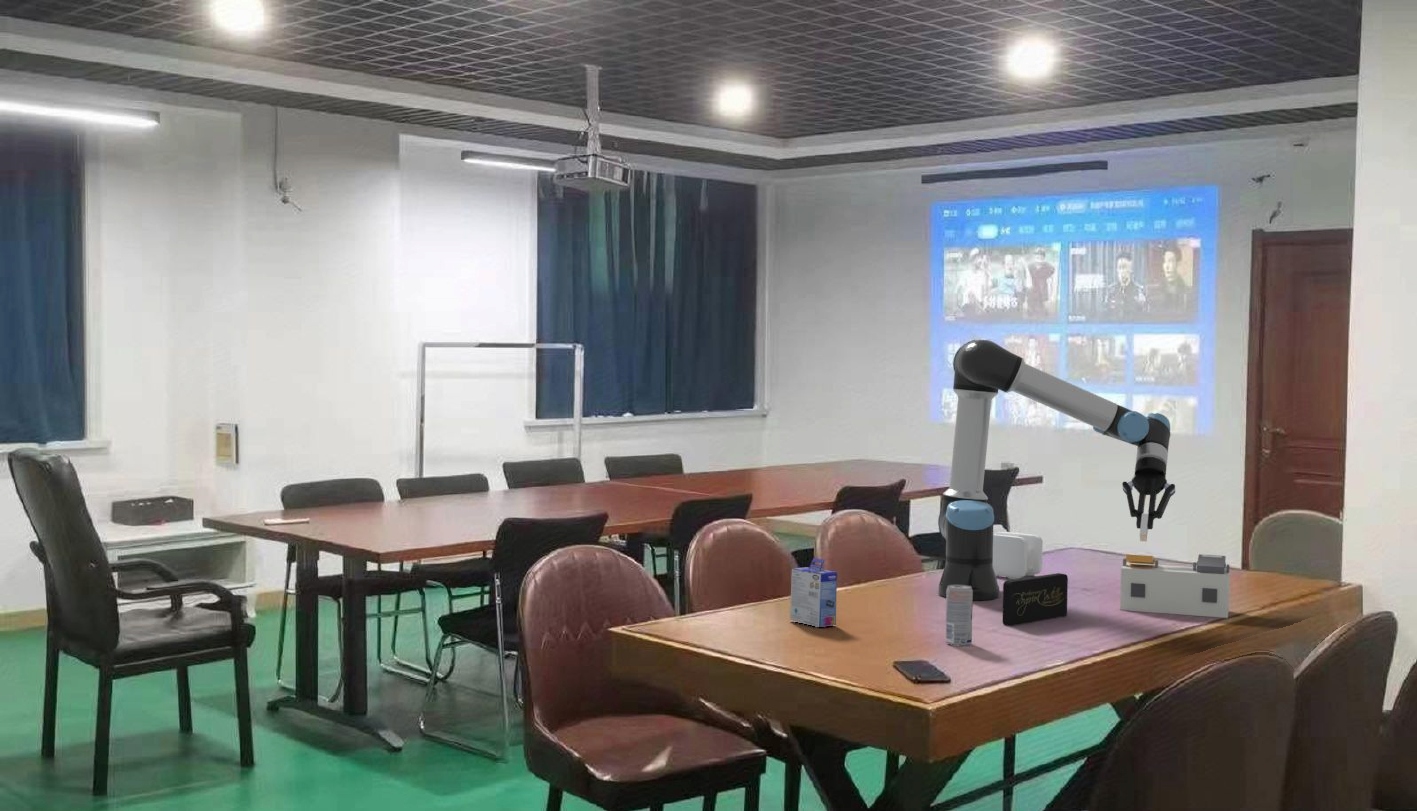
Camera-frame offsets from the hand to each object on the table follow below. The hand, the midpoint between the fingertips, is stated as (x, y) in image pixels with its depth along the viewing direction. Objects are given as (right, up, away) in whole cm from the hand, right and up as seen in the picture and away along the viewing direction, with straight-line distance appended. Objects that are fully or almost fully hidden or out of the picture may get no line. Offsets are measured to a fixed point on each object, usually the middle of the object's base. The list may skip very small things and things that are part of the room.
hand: (1143, 537), depth 331 cm
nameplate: (-31, -17, -21) cm, 41 cm away
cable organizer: (-22, -15, +45) cm, 53 cm away
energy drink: (-54, -18, -48) cm, 74 cm away
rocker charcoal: (+13, -5, -10) cm, 17 cm away
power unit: (+6, -17, -6) cm, 19 cm away
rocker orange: (-2, -5, -3) cm, 6 cm away
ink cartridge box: (-83, -17, -28) cm, 89 cm away
